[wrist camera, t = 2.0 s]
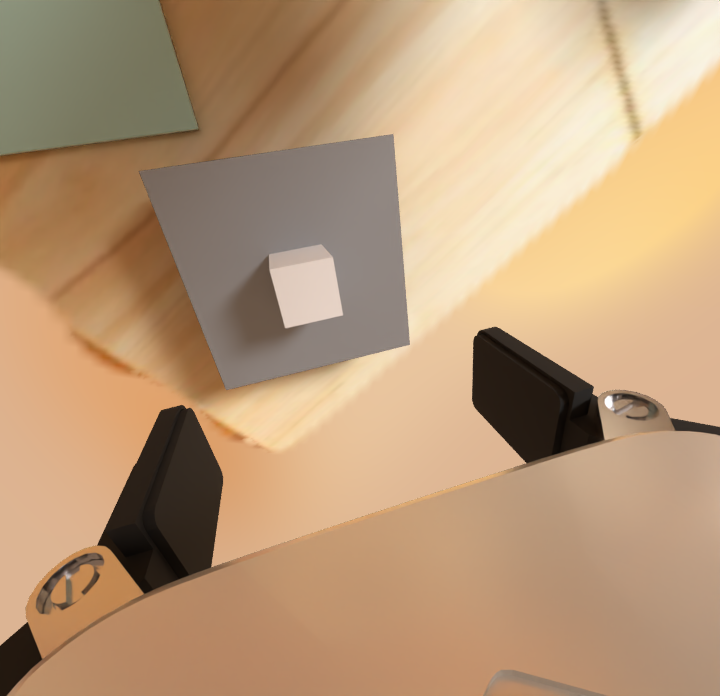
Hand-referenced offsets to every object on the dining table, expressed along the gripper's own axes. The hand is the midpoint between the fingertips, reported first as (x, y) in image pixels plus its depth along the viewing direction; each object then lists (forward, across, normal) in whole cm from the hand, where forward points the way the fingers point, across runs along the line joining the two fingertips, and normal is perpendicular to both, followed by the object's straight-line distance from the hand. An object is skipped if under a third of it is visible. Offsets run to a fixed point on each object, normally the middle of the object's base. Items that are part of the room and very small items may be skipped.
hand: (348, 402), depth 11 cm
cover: (+21, 0, 0) cm, 21 cm away
